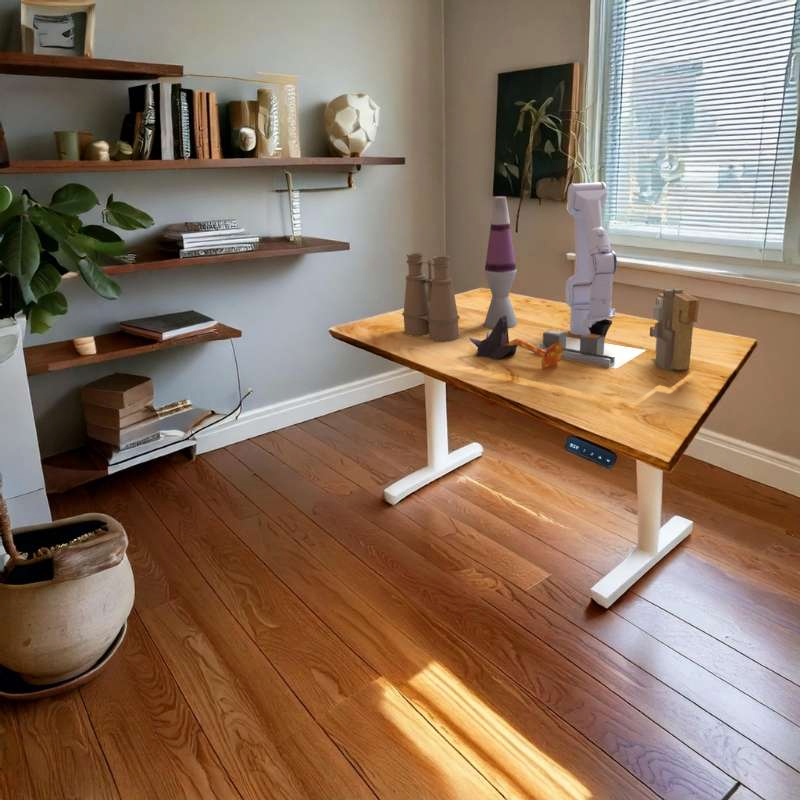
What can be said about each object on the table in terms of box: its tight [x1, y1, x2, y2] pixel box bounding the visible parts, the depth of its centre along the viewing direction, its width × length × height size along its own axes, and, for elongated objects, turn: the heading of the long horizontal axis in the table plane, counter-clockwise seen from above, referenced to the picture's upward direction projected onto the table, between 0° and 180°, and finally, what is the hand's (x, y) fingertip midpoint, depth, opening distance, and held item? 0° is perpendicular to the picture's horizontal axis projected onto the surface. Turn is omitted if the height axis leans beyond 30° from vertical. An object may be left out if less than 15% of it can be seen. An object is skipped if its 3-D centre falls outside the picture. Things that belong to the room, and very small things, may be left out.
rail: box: [536, 343, 615, 368], centre depth 184 cm, size 3×22×2 cm, turn 48°
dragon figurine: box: [469, 316, 563, 371], centre depth 186 cm, size 10×12×25 cm
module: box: [579, 333, 606, 354], centre depth 186 cm, size 4×5×5 cm
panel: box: [529, 336, 647, 370], centre depth 190 cm, size 18×26×1 cm
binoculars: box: [401, 252, 460, 343], centre depth 212 cm, size 21×10×25 cm, turn 46°
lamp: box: [483, 196, 518, 329], centre depth 216 cm, size 11×11×40 cm
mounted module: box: [542, 329, 567, 348], centre depth 191 cm, size 4×5×5 cm
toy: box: [649, 288, 700, 371], centre depth 172 cm, size 6×17×20 cm, turn 2°
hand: (598, 346), depth 189 cm, fingers closed
